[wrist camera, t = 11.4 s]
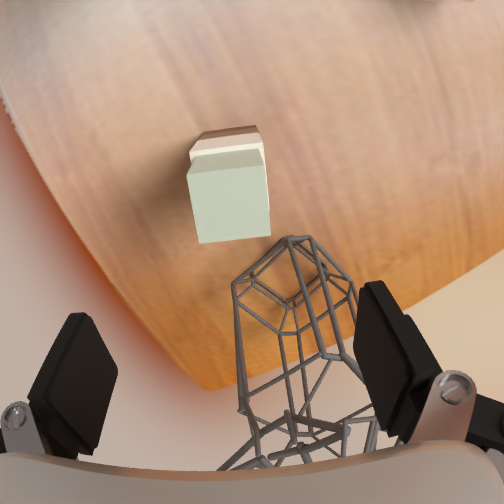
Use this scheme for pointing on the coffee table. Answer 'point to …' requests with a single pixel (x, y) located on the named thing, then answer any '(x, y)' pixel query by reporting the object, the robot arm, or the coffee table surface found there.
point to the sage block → (229, 196)
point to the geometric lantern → (291, 417)
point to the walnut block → (229, 132)
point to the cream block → (228, 146)
